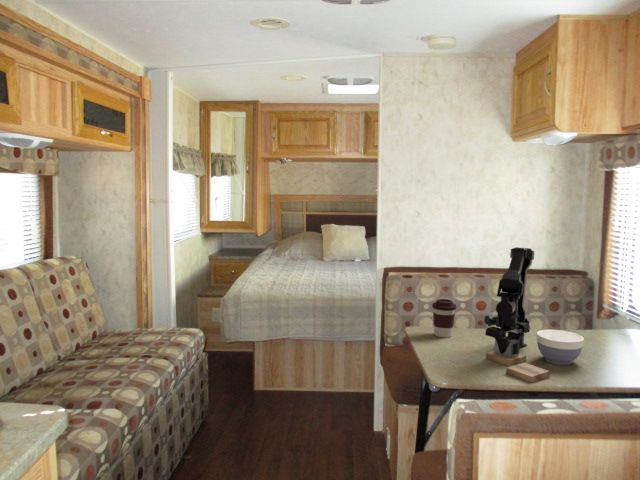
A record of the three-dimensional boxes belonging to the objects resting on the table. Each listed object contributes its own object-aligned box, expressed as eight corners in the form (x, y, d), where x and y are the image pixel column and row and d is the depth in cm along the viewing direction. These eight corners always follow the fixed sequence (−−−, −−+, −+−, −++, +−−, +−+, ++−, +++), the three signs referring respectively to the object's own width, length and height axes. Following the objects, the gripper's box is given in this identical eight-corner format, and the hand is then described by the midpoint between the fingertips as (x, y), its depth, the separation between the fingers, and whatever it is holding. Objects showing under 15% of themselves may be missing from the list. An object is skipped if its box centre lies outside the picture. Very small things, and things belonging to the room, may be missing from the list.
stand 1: (503, 353, 212) (503, 348, 212) (526, 361, 204) (526, 355, 204) (486, 358, 207) (486, 352, 206) (508, 366, 198) (509, 360, 198)
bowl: (558, 351, 216) (560, 327, 214) (592, 365, 201) (594, 339, 200) (526, 356, 210) (527, 331, 209) (557, 370, 195) (559, 344, 194)
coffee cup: (455, 339, 229) (457, 304, 227) (431, 337, 231) (432, 302, 229) (454, 332, 239) (456, 298, 237) (431, 331, 241) (432, 297, 239)
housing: (502, 350, 209) (503, 335, 209) (518, 355, 204) (519, 340, 203) (494, 352, 206) (495, 337, 206) (510, 358, 201) (511, 342, 200)
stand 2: (523, 367, 197) (524, 362, 197) (549, 376, 189) (549, 371, 188) (506, 373, 191) (506, 367, 191) (531, 382, 183) (531, 376, 183)
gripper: (506, 303, 215) (504, 342, 217) (474, 309, 204) (472, 350, 206) (531, 309, 206) (529, 350, 208) (499, 316, 195) (497, 359, 197)
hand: (506, 352), depth 205 cm, fingers open, 5 cm apart
